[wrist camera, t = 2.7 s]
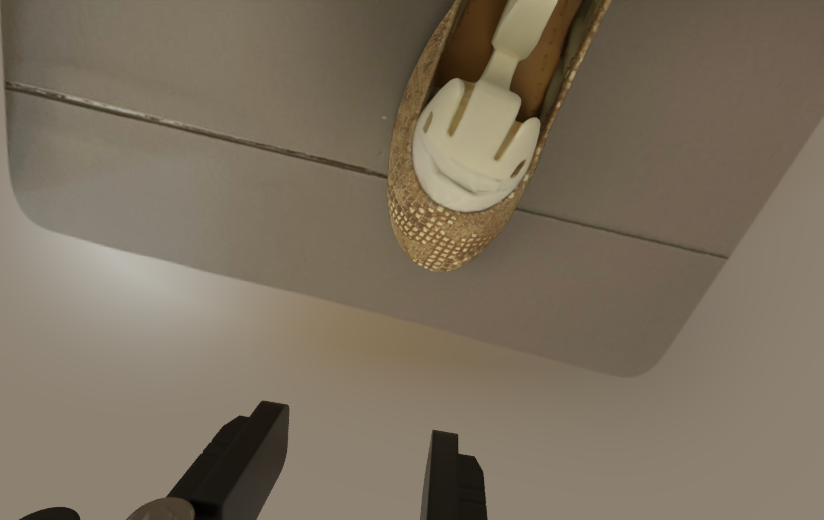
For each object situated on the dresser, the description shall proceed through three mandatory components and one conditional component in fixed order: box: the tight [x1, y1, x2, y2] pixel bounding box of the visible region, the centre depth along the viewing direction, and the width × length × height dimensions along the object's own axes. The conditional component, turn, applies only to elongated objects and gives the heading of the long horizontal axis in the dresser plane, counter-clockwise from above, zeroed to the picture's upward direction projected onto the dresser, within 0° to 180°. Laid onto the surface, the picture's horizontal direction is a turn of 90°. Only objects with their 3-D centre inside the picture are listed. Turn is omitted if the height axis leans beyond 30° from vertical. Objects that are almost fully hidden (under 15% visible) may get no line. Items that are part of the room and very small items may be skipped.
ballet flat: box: [388, 0, 612, 272], centre depth 25 cm, size 11×30×10 cm, turn 162°
